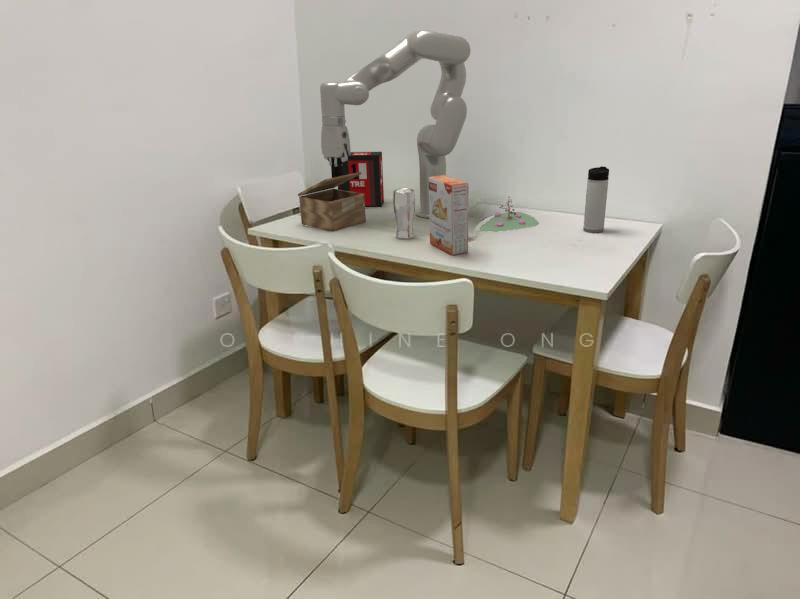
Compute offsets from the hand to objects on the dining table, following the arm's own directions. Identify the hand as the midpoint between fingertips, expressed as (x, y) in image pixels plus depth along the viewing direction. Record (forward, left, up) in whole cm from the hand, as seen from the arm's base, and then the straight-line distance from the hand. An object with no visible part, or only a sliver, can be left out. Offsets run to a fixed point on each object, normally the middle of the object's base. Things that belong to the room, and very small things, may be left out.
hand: (336, 177), depth 206 cm
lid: (+4, 0, -3) cm, 5 cm away
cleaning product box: (+15, -26, -17) cm, 35 cm away
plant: (-45, -34, -17) cm, 59 cm away
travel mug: (-73, -43, -17) cm, 87 cm away
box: (+4, 0, -17) cm, 17 cm away
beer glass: (-28, -2, -17) cm, 33 cm away
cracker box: (-47, 0, -17) cm, 50 cm away
